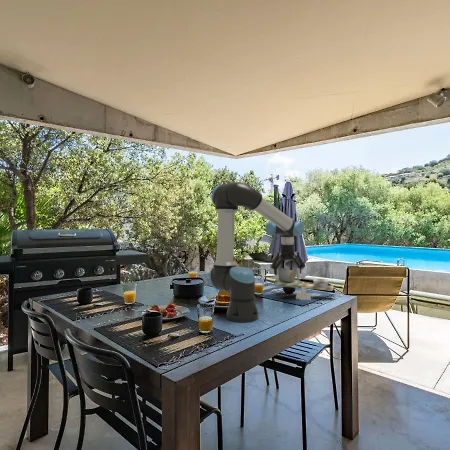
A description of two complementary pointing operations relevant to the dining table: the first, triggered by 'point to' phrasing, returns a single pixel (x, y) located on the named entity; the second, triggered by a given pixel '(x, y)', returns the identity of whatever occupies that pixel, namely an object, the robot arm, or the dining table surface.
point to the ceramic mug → (286, 275)
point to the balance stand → (303, 294)
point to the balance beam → (317, 284)
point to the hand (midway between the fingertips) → (287, 279)
